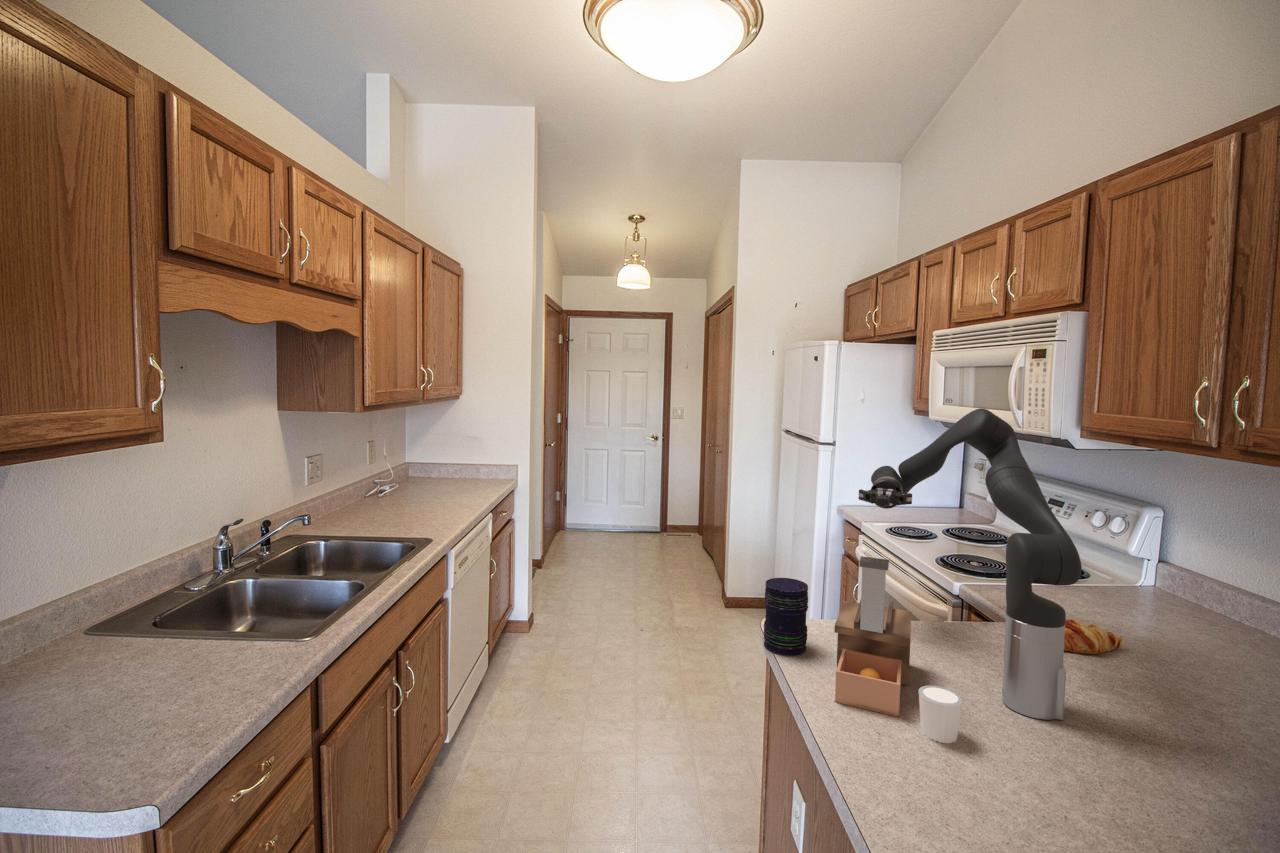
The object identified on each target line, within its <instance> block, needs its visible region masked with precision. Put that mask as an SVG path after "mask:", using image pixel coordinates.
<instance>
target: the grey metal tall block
mask: <svg viewBox="0 0 1280 853" xmlns="http://www.w3.org/2000/svg"><path fill="white" fill-rule="evenodd" d="M859 567H860V568H862V569H861V592H860V600H861V617H860V629H861V630H867V631H872V632H878V633H883V630H884V608H885V604H886V581H887V580H886V579H887V578H886V577H887V576H886V574H887V571H889V567H890V559H885V558H877V557H871V556H862V555H861V556H860V560H859Z"/></svg>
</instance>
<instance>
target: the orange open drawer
mask: <svg viewBox="0 0 1280 853" xmlns="http://www.w3.org/2000/svg"><path fill="white" fill-rule="evenodd" d="M864 668H873V669H875V670H876V671H877V672H878V673H879V675H880V679H876V678H871V677H867V676H862V675H859V674H860V672H861V670H862V669H864ZM901 669H902V660H899V659H894V658H889V657H883V656H878V655H873V654H868V653H863V652H858V651H853V650H848V649H843V650H842V653H841V657H840V660H839V663H838V666H837V665H836V670H835V689H834V690H835V691H834V692H835V694H834V702H835V703H837V704H838V703H839V704H843V705H847V706H852V707H855V708H860V709H865V710H868V711H872V712H873V711H874V712H876V713H881V714H886V715H889V716H892V717H897V718H899V716H900V706H901V705H900V704H901V692H902V690H901V689H902V684H901Z"/></svg>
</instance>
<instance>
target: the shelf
mask: <svg viewBox="0 0 1280 853" xmlns="http://www.w3.org/2000/svg"><path fill="white" fill-rule="evenodd" d="M860 617H861V599H860V600H859V602H855V601H850V600H843V602H842V604H841V608H840V610H839V613H838V615H837V618H836V621H835V623H834V631H833V632H834V633H836V634H837V642H836V643H837V646H836V649H837V650H836V651H837V652H836V667H837V666H838V663H839V660H840V657H841V653H842V650H843V649H848V650H853V651H858V652H863V653H868V654H873V655H878V656H883V657H889V658H894V659H899V660H902V669H901V685H905V686H909V685H910V682H909V681H910V660H911V639H912V638H911V635H912V634H911V632H912V611H911V610H906V609H905V610H904V609H899V608H894V601H892V600H891V601H890V600H889V602H888V607H885V608H884V630H883V633H878V632H872V631H867V630H861V629H860Z"/></svg>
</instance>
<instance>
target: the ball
mask: <svg viewBox="0 0 1280 853" xmlns="http://www.w3.org/2000/svg"><path fill="white" fill-rule="evenodd" d="M859 675H862V676H867V677H871V678H876V679H880V675H879V673H878V672H877V671H876V670H875V669H873V668H864V669H862V670H861V672H860V674H859Z"/></svg>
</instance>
